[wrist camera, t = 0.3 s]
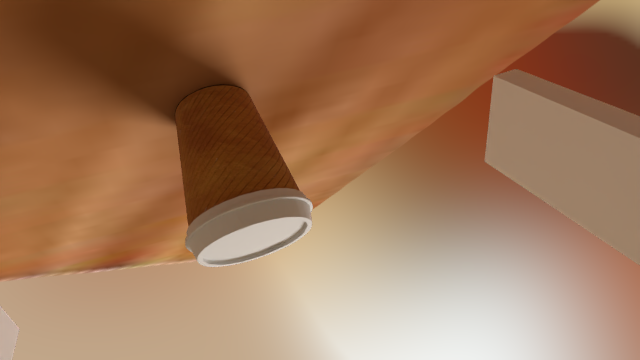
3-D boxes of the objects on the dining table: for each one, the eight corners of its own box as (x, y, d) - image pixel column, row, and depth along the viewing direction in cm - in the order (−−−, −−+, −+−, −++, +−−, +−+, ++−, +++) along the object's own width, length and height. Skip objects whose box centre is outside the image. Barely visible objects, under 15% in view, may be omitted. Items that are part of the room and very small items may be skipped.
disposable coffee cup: (160, 150, 38) (192, 279, 34) (145, 80, 30) (186, 239, 25) (263, 130, 41) (305, 246, 37) (276, 62, 33) (332, 201, 29)
